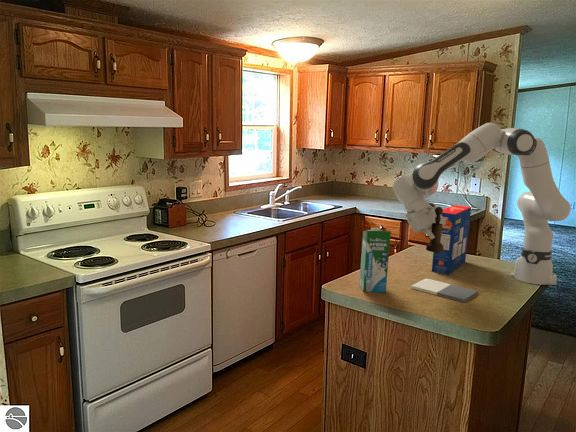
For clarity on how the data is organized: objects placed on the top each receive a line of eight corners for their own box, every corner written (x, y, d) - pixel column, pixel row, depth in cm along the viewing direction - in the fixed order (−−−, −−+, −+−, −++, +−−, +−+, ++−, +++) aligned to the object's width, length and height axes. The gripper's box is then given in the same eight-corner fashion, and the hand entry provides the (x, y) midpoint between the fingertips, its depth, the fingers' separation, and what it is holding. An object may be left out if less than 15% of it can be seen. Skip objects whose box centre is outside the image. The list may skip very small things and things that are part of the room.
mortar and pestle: (439, 248, 197) (444, 205, 193) (445, 253, 190) (450, 208, 187) (423, 248, 196) (428, 205, 193) (428, 252, 190) (433, 208, 187)
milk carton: (381, 285, 197) (385, 226, 193) (385, 292, 188) (390, 231, 184) (359, 284, 197) (363, 225, 192) (363, 292, 188) (367, 230, 183)
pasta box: (449, 259, 242) (454, 205, 237) (465, 262, 238) (471, 207, 233) (431, 271, 220) (437, 211, 214) (449, 275, 215) (455, 214, 210)
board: (425, 280, 205) (426, 278, 205) (477, 293, 191) (477, 291, 191) (410, 288, 195) (411, 285, 194) (464, 302, 181) (464, 299, 180)
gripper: (409, 207, 188) (428, 236, 183) (436, 203, 202) (455, 230, 197) (398, 216, 192) (417, 245, 187) (426, 212, 206) (444, 238, 201)
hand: (437, 237), depth 192 cm, fingers closed on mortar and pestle, 4 cm apart
